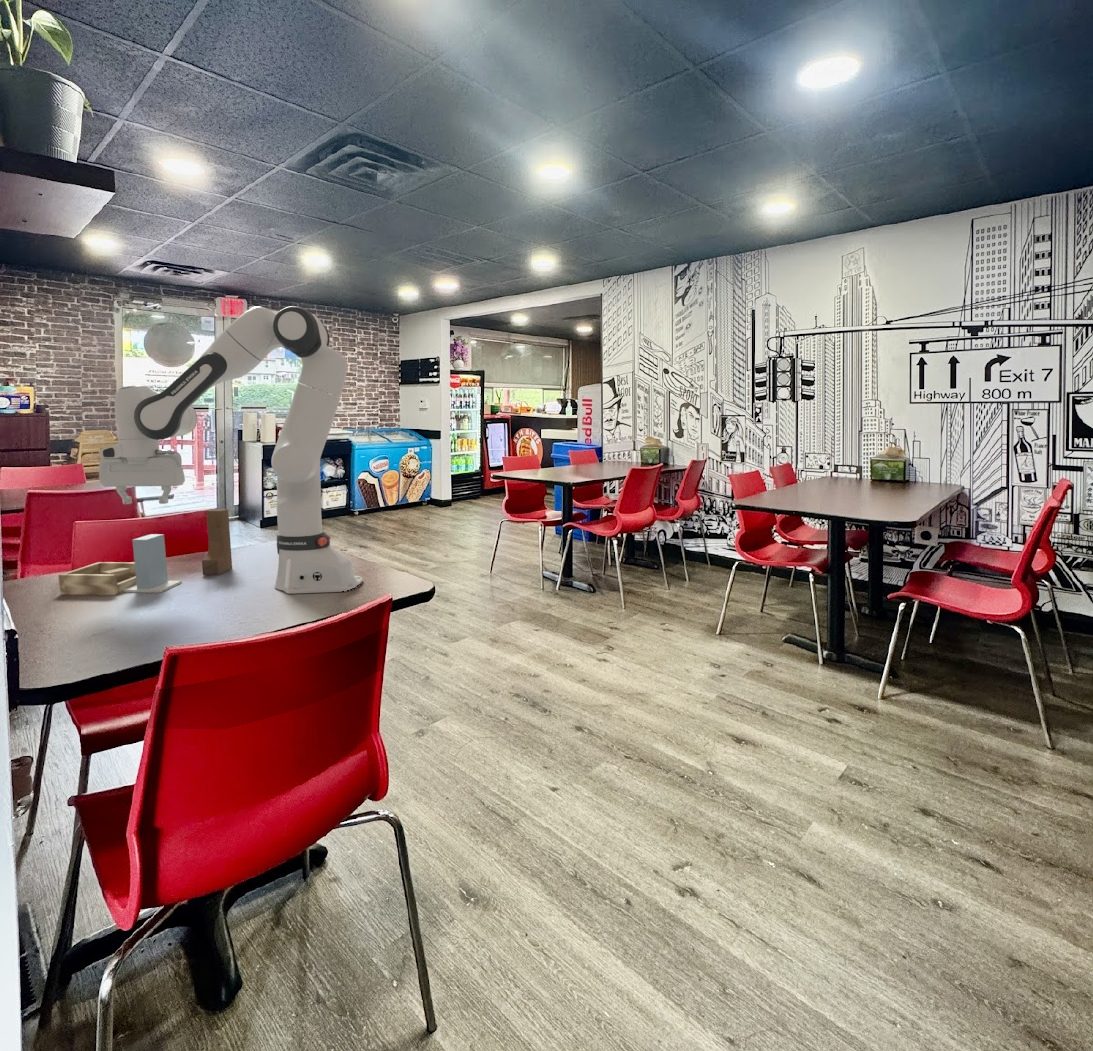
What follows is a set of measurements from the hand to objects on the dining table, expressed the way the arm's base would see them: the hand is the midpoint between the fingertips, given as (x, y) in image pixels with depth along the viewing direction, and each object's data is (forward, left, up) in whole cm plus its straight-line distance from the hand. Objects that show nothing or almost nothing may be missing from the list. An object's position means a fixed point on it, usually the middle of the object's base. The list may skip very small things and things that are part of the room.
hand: (145, 503), depth 173 cm
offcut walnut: (+9, 0, -23) cm, 25 cm away
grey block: (0, 0, -22) cm, 22 cm away
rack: (+12, 0, -22) cm, 25 cm away
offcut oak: (+9, 0, -20) cm, 22 cm away
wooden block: (-8, -18, -23) cm, 30 cm away
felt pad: (0, 0, -22) cm, 22 cm away
